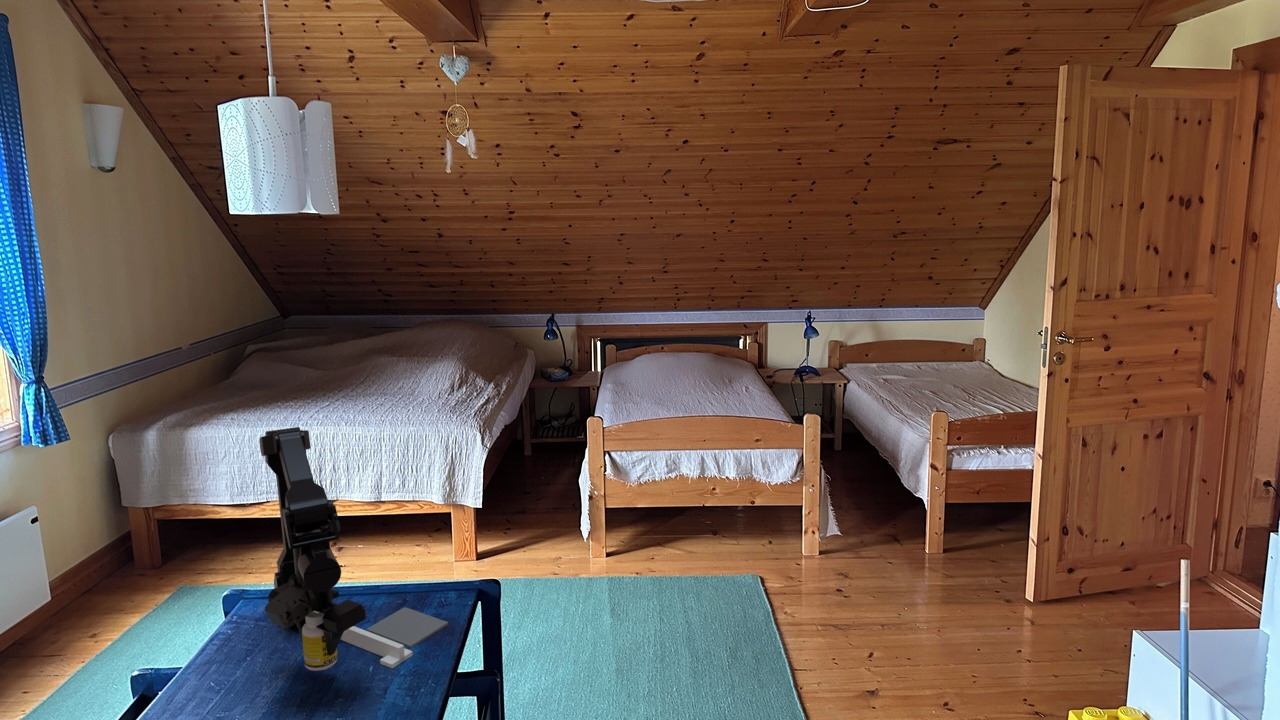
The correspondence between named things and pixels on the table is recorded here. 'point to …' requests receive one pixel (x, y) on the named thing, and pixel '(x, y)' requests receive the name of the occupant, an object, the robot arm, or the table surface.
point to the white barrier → (377, 646)
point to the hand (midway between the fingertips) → (320, 649)
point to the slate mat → (407, 627)
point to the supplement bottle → (315, 644)
